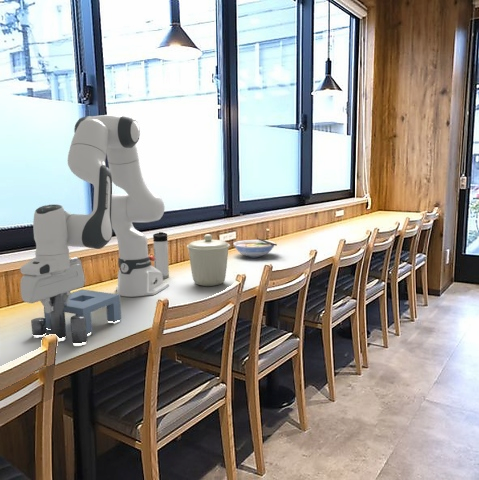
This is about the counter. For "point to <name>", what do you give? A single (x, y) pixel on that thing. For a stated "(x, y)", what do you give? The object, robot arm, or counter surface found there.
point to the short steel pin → (38, 326)
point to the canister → (208, 260)
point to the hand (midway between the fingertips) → (56, 309)
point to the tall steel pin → (58, 316)
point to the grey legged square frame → (91, 306)
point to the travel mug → (161, 253)
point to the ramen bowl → (254, 247)
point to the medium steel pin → (78, 328)
